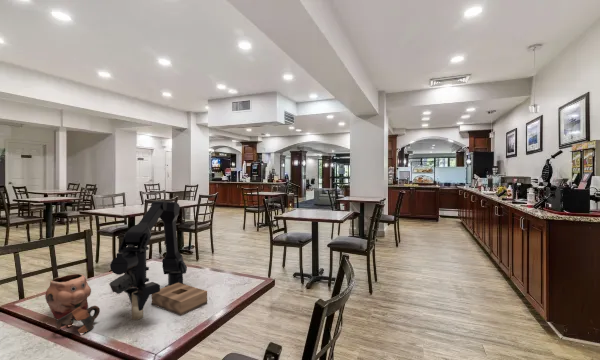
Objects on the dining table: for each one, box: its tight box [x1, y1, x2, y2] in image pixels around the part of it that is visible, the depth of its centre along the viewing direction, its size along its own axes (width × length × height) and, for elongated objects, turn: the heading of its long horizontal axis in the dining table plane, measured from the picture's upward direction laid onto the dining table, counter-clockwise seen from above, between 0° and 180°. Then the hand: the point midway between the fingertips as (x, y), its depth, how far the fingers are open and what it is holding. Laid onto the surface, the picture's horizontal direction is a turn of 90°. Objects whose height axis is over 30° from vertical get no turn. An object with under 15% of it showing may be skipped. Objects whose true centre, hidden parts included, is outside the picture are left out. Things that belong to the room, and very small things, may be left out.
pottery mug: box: [54, 305, 101, 334], centre depth 98 cm, size 12×10×8 cm
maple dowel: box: [131, 291, 144, 321], centre depth 105 cm, size 4×4×9 cm
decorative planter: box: [44, 273, 92, 320], centre depth 107 cm, size 20×12×14 cm, turn 66°
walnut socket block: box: [151, 283, 208, 316], centre depth 116 cm, size 18×12×5 cm, turn 58°
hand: (137, 308), depth 105 cm, fingers closed on maple dowel, 3 cm apart
